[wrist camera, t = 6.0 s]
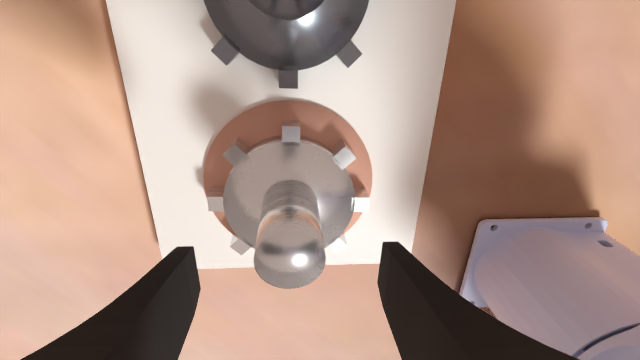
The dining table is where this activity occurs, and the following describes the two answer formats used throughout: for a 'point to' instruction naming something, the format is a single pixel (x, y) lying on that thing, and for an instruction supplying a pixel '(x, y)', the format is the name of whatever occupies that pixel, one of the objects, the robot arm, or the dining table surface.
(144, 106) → the gear board
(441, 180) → the dining table surface
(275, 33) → the crank gear
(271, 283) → the aluminium gear
